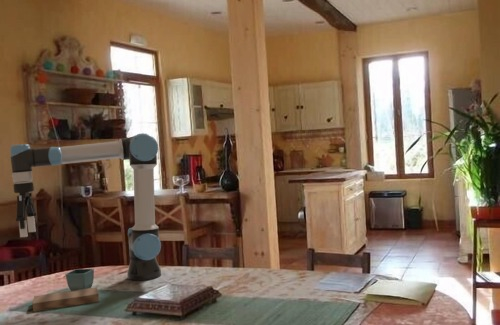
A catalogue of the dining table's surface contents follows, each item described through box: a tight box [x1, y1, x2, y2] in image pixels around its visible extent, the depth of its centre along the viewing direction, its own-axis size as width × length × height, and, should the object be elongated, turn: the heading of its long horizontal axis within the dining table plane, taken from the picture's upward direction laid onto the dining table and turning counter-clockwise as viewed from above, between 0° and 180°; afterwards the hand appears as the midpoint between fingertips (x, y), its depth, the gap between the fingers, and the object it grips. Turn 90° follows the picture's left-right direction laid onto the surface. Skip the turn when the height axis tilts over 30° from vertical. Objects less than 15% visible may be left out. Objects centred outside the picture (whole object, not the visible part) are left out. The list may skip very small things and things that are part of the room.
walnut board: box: [32, 287, 100, 312], centre depth 221 cm, size 24×12×3 cm, turn 108°
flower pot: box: [65, 268, 95, 291], centre depth 236 cm, size 9×9×9 cm
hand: (28, 234), depth 229 cm, fingers open, 13 cm apart
